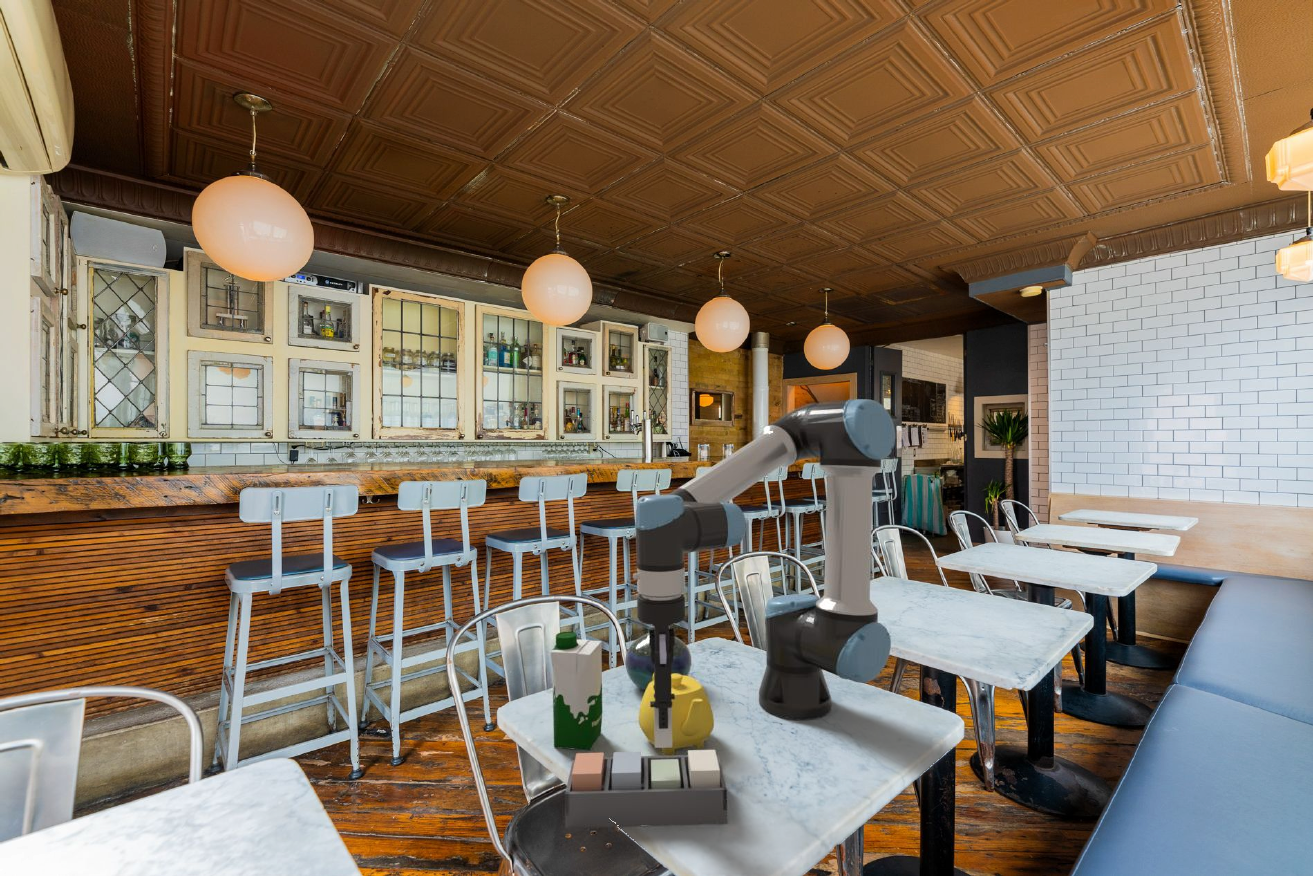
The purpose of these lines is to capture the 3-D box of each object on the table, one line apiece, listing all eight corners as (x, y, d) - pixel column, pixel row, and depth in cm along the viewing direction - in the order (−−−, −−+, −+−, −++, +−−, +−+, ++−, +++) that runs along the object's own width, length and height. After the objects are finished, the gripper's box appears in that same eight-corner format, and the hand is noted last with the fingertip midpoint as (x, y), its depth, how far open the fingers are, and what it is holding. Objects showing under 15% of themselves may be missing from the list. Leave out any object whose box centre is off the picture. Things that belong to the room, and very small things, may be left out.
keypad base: (719, 784, 97) (718, 754, 97) (727, 823, 87) (727, 789, 87) (573, 788, 97) (573, 758, 97) (565, 828, 87) (564, 794, 87)
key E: (604, 771, 95) (603, 752, 95) (601, 793, 89) (601, 773, 89) (576, 772, 95) (576, 753, 95) (572, 794, 89) (571, 774, 89)
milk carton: (564, 727, 118) (562, 627, 118) (607, 731, 116) (606, 629, 116) (547, 749, 109) (545, 641, 110) (594, 754, 108) (592, 644, 108)
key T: (678, 777, 95) (678, 759, 95) (680, 800, 89) (680, 780, 89) (651, 778, 95) (650, 759, 95) (651, 801, 89) (651, 781, 89)
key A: (715, 768, 95) (715, 749, 95) (720, 790, 89) (719, 770, 89) (688, 769, 95) (687, 750, 95) (691, 791, 89) (690, 771, 89)
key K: (641, 770, 95) (640, 751, 95) (641, 792, 89) (640, 772, 89) (614, 771, 95) (613, 752, 95) (611, 793, 89) (611, 773, 89)
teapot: (668, 778, 99) (667, 705, 100) (625, 727, 118) (624, 665, 118) (736, 760, 105) (735, 690, 105) (685, 714, 123) (684, 654, 123)
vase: (693, 700, 129) (692, 640, 130) (623, 701, 130) (622, 640, 130) (690, 673, 145) (689, 619, 145) (627, 674, 145) (626, 619, 145)
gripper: (637, 584, 99) (639, 725, 99) (636, 606, 86) (639, 768, 86) (682, 583, 99) (684, 724, 99) (687, 605, 86) (690, 767, 86)
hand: (663, 745), depth 92 cm, fingers closed
